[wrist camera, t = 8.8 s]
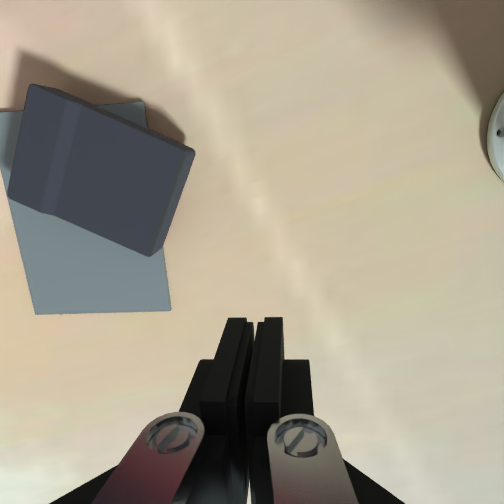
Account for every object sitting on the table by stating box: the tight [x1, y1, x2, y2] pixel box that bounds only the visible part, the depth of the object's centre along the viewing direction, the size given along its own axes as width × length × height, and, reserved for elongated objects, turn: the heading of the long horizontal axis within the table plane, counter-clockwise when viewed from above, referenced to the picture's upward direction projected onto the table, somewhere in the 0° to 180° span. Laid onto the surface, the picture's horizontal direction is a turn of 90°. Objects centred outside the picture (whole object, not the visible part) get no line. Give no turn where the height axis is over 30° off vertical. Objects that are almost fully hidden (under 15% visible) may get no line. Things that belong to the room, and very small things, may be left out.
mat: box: [0, 102, 171, 315], centre depth 41 cm, size 16×22×1 cm
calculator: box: [7, 84, 195, 257], centre depth 37 cm, size 11×4×15 cm
